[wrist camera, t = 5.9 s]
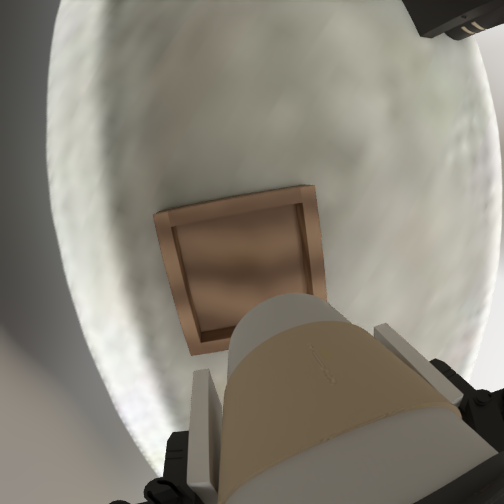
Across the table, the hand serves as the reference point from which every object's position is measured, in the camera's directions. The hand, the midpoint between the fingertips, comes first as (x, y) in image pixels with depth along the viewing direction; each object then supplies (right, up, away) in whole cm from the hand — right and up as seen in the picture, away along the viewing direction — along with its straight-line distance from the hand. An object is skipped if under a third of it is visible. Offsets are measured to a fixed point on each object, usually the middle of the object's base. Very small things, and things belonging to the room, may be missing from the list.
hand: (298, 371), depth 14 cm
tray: (-3, +4, +19) cm, 20 cm away
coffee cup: (0, +1, +3) cm, 3 cm away
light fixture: (+28, +44, +13) cm, 54 cm away
